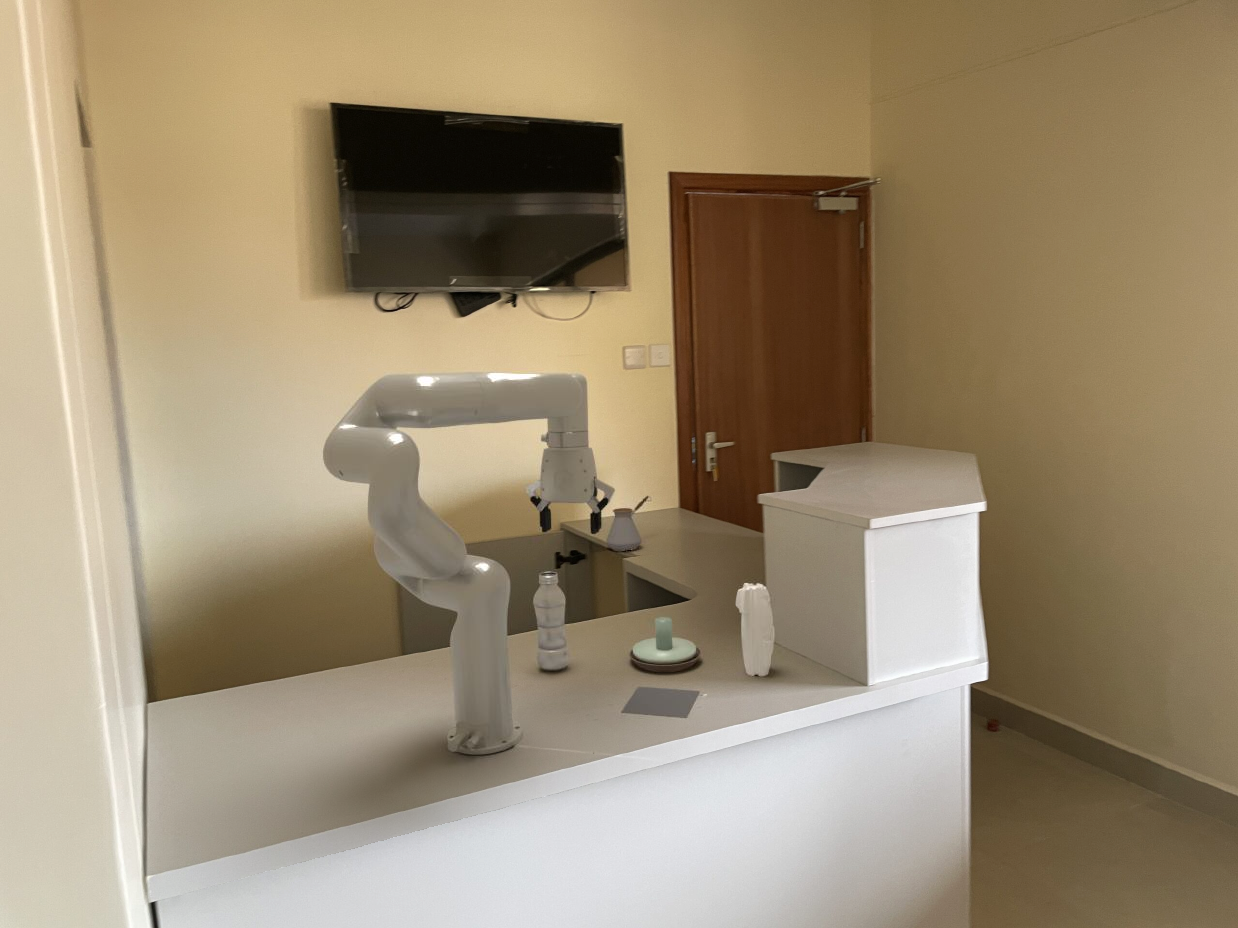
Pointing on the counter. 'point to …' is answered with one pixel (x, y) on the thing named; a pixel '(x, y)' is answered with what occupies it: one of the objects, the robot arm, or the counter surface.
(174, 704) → the counter surface
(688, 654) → the lid
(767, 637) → the lumpy white ridged column
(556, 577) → the plastic bottle
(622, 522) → the coffee pot
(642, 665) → the saucer
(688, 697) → the mat
